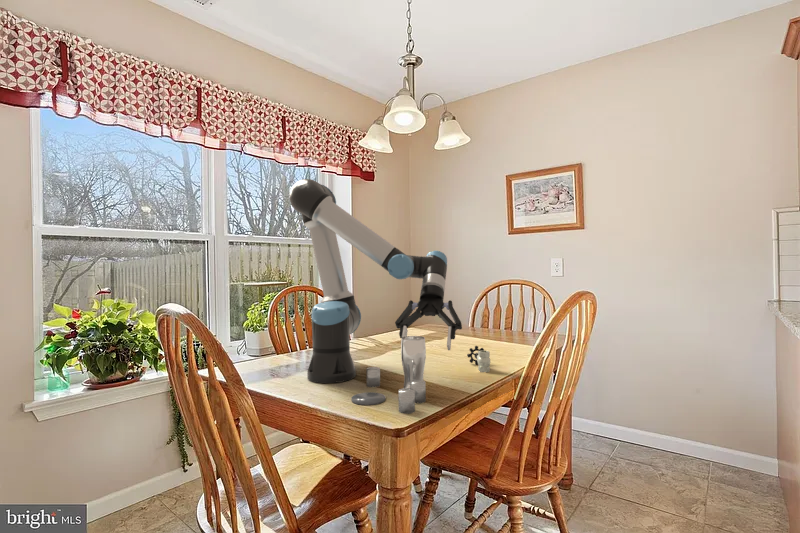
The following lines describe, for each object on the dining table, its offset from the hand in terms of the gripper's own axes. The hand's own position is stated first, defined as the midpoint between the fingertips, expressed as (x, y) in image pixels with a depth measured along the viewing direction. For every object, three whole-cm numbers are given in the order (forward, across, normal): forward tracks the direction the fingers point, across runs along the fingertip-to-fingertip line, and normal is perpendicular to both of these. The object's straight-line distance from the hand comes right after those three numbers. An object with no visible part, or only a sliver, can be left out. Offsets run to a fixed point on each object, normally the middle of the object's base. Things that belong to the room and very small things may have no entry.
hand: (425, 347), depth 128 cm
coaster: (+19, +13, +3) cm, 23 cm away
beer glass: (+12, +2, -4) cm, 13 cm away
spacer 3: (+18, 0, +2) cm, 18 cm away
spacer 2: (+23, +1, +8) cm, 24 cm away
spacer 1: (+10, +15, -6) cm, 19 cm away
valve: (-8, -14, -26) cm, 31 cm away
